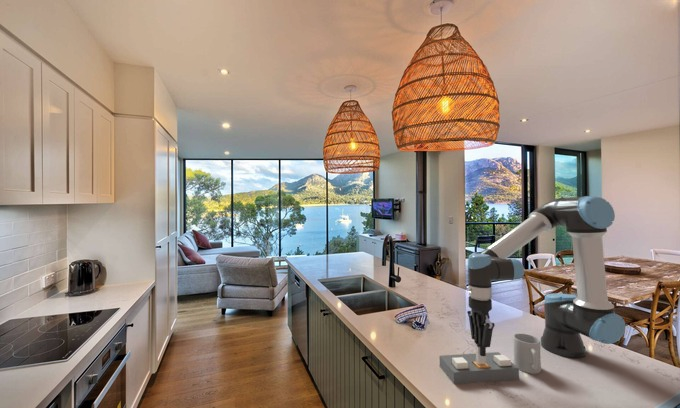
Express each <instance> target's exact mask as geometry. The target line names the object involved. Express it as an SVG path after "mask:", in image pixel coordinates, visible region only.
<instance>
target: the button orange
mask: <svg viewBox="0 0 680 408" xmlns="http://www.w3.org/2000/svg"><path fill="white" fill-rule="evenodd" d="M473 364H474V365H475V366H476V367H477V368H478V369H485V368H490V366H489V365H487V364H480V365H478V364H477V363H476V361H474V362H473Z"/></svg>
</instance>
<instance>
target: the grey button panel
mask: <svg viewBox="0 0 680 408" xmlns="http://www.w3.org/2000/svg"><path fill="white" fill-rule="evenodd" d="M438 359H439V367H440V369H441V370H442V371H443V372H444V373H445V374H446V376H447V377H448V379H449V380H450V381H451V382H452V384H454V385H458V384H460V385H461V384H475V383H487V382H502V381H503V382H504V381H518V380H520V370H519V368H518V367H517V366H516V365H514V362H511V359H510V358H509V357H507V355H505V354H502V353H500V352H498V351H496V352H495V351H494V352H486V364H487V365H489V366H490V368H485V369H478V368H477V367H476V366H475V365H474V364H473V362H474V361H476V353H462V354H445V355H444V354H443V355H439V358H438Z"/></svg>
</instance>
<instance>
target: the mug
mask: <svg viewBox="0 0 680 408" xmlns="http://www.w3.org/2000/svg"><path fill="white" fill-rule="evenodd" d="M541 359H542V357H541V339H539V338H538V337H535V336H533V335H532V334H531V335H530V334H526V333H515V334H514V335H513V364H514V365H516V366H517V367H518V368H519V371H521V372H523V373H527V374H530V375H531V374H532V375H535V374H536V375H537V374H540V373H541V371H542V362H541Z"/></svg>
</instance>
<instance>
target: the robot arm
mask: <svg viewBox="0 0 680 408" xmlns="http://www.w3.org/2000/svg"><path fill="white" fill-rule="evenodd" d="M615 214H616V213H615V211H614V207H613V206H612V205H611V203H610V202H609V201H607V200H606V199H605V198H602V197H601V196H600V197H599V196H589V195H585V196H575V197H574V196H571V197H558V198H555V199H553V200H550V201H548V202H546V203H544V204H542V205H540V206H539V207H537V208H536V209H534V210H533V211H532V212H531V213H529V215H528V217H527V219H525V220H524V221H522V222H521V223H520V224H519V225H516V227H514V228H513V229H510V231H508V232H507V233H506V234H504V235H503V236H502V237H500V238H499V239H497V240H496V241H495V242H493V243H492V244H491V245H489V246H488V247H486V248H485V249H483V250H482V251H479V252H473V253H471V254H469V255H468V258H467V275H468V276H467V278H468V279H467V280H468V289H467V290H468V307H469V308H470V309H471V310H467V312H466V313H467V316H468V321H469V327H470V335H471V339H472V340H474V344H475V354H476V363H477V364H478V365H480V364H486V353H487V351H486V349H487V348H490V347H491V345H492V344H491V343H492V338H493V330H494V328H495V326H496V325H495V322H491V320H490V314H489V312H490V311H492V310H493V309H492V308H493V303H492V302H493V301H492V297H493V296H492V295H493V292H492V290H493V289H492V284H493V283H492V281H493V282H494V281H517V280H521V279H522V278H523V277H524V275H525V267H524V265H523V263H522V262H521V261H520V260H518V259H516V258H515V259H514V258H509V257H510V256H512V255H513V254H514V253H516V252H518V251H519V250H520V249H521V248H523V247H524V246H526V245H527V244H529V242H532V240H534V239H536V237H538V236H539V235H540V234H542V233H543V232H549V231H550V230H552V229H554V228H556V227H561V226H562V227H565V230H566V233H567V234H568V235H569V236H571V242H572V250H573V252H572V253H573V262H574V272H575V274H574V275H575V283H576V294H577V295H575V294H569V293H553V292H552V293H547V294H545V296H544V302H543V305H544V330H543V333H542V335H541V337H540V346H541V347H542V348H544V349H545V350H546V351H548V352H551V353H552V354H556V355H558V356H562V357H566V358H572V359H574V358H575V359H577V358H579V359H580V358H584V357H586V356H587V350H586V346H585V345H584V341H583V339H582V336H581V335H583V336H585V337H587V338H589V339H591V340H592V341H595V342H599V343H601V344H605V345H611V344H615V343H616V342H618V341H619V340H621V338H622V337H623V336H624V334H625V331H626V322H625V320H624V318H623V317H622V316H621V315H619V314H618V313H616V312H615V305H614V304H613V303H612V302H611V301H609V298H608V289H607V278H606V267H605V257H604V246H603V236H604V235H605V234H607V232H608V230H607V228H609V227H611V226H612V225H613V224H614V221H615V216H616V215H615Z"/></svg>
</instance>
